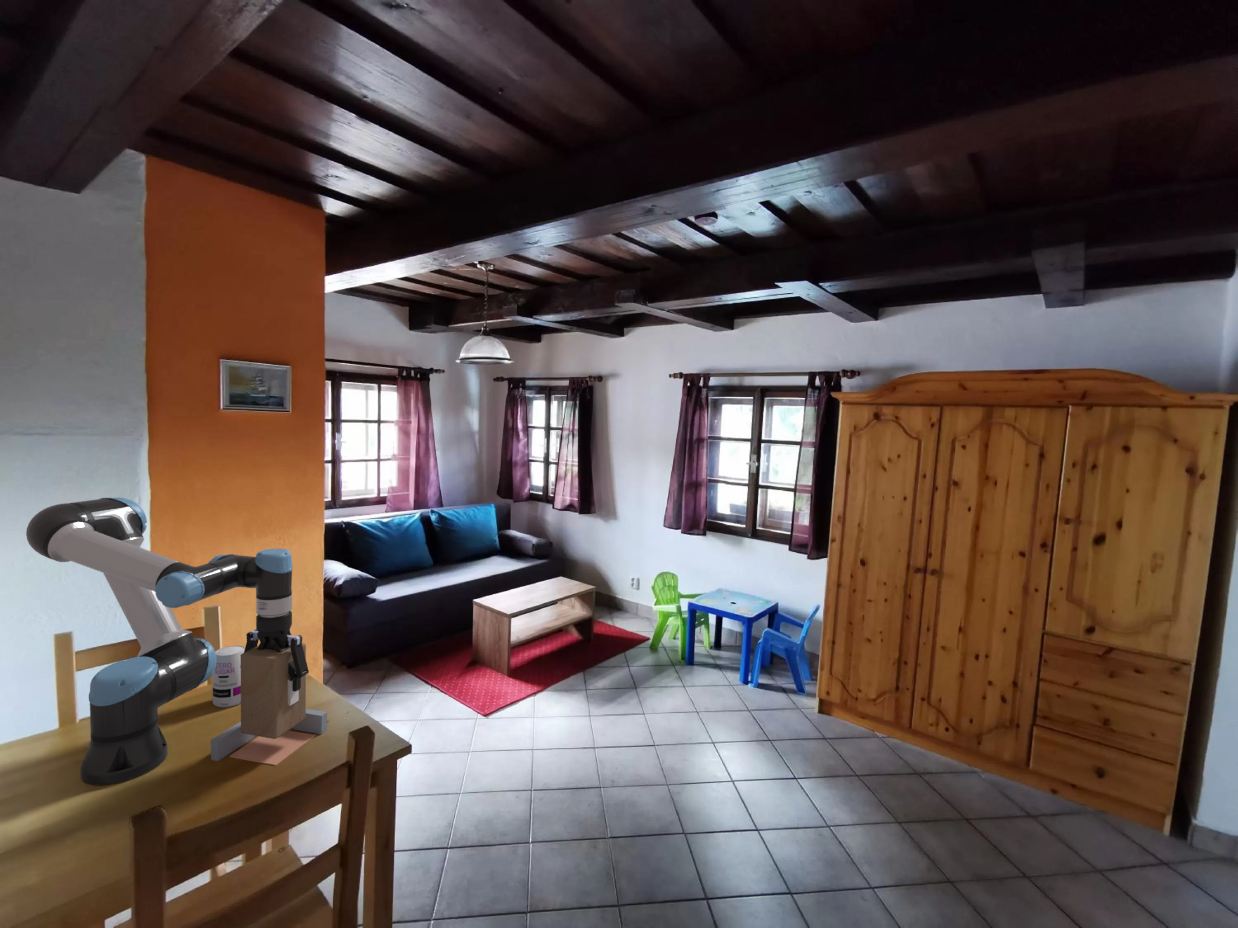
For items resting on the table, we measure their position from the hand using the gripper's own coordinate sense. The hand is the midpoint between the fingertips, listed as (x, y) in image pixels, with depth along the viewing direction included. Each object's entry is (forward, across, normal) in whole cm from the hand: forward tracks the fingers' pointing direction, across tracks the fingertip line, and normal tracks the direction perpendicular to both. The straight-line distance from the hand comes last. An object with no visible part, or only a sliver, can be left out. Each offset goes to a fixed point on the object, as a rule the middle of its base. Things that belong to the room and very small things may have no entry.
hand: (274, 699), depth 139 cm
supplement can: (+12, -28, +15) cm, 34 cm away
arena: (+12, -2, +1) cm, 12 cm away
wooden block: (+7, 0, 0) cm, 7 cm away
